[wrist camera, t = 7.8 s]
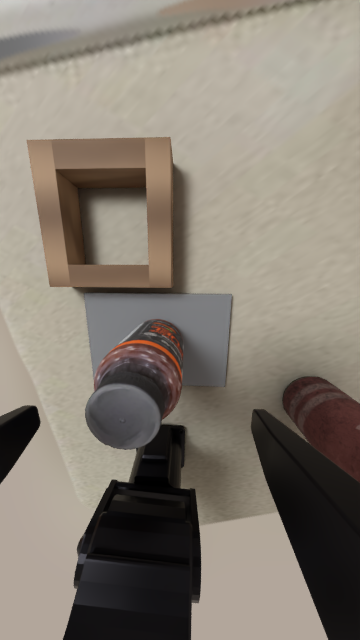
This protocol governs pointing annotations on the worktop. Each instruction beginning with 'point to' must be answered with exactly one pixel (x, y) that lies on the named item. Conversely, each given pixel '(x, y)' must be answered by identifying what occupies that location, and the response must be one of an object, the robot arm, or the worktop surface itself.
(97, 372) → the supplement bottle
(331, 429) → the can
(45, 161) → the walnut holder
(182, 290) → the worktop surface
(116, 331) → the grey rubber mat
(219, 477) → the worktop surface
